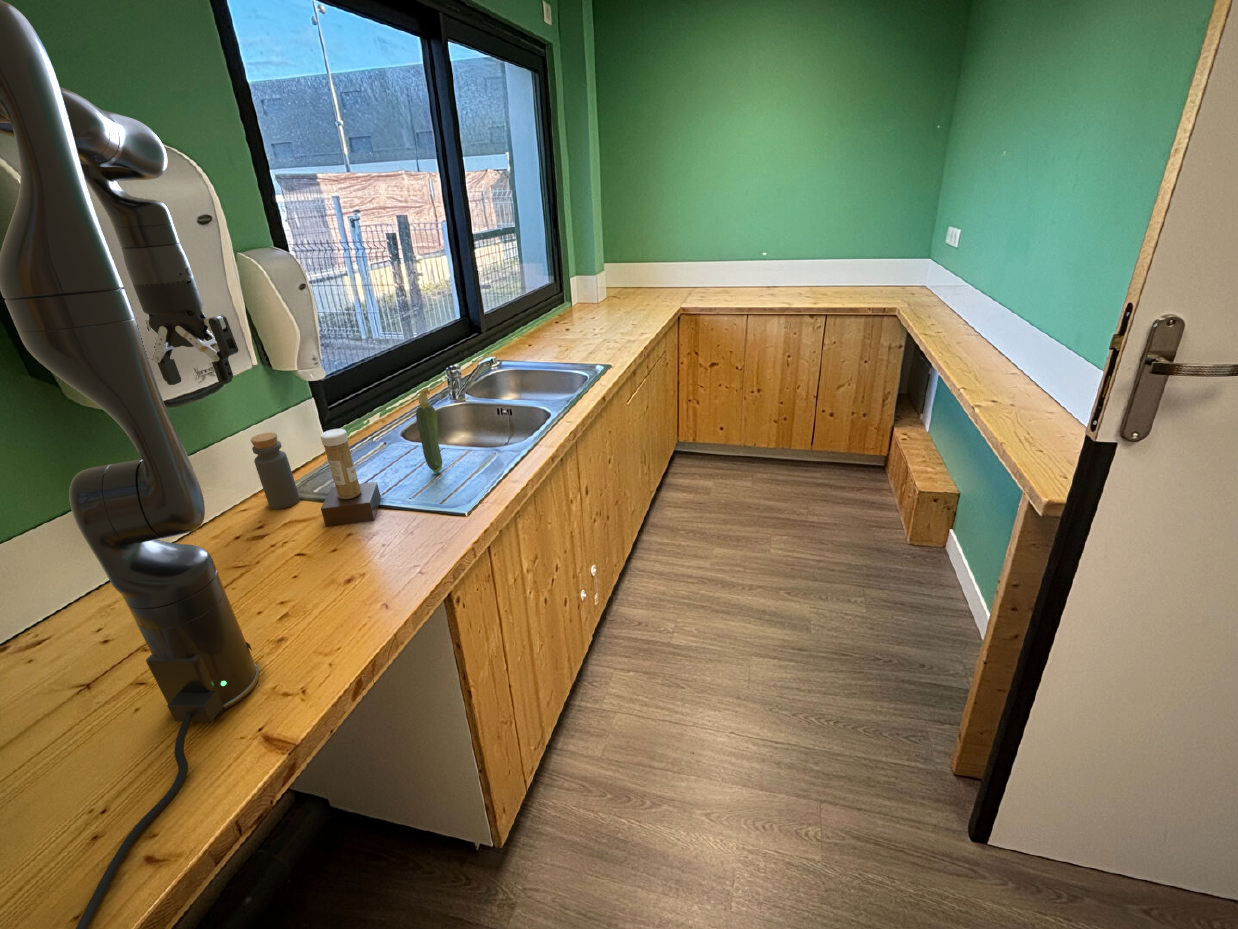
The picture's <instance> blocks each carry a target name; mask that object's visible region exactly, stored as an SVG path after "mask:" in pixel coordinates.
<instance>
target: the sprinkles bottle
mask: <svg viewBox="0 0 1238 929" xmlns="http://www.w3.org/2000/svg"><path fill="white" fill-rule="evenodd" d="M320 440H321V443H322V445H323V448H324V451H325V455H326V458H327V462H328V466H329V471H330V474H331V476H332V477H331V478H332V480H333V484H334V487H336V490H337V496H338V498H340V499H351V498H354V497H356V496H358V495H359V494H360V493H361V488H360V486H359V484H360V482H359V479H358V473H357V470H356V467H355V463H354V460H353V456H352V452H351V449H350V445H349V435H348V433H347V430H346V429H345V428H333V429H329V430H328V429H327V430H326V431H324V432H322V433H321V434H320Z"/></svg>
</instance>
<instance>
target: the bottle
mask: <svg viewBox="0 0 1238 929" xmlns="http://www.w3.org/2000/svg"><path fill="white" fill-rule="evenodd" d="M250 442H251V444H252V445H253V446H252V448H251V450H252V452H253V454H255V455H257V456H256V457H255V458H254V460H253V462H254V466H255V470H256V471H257V474H258V478H259V480H260V483H261V487H262V489H263V492H264V496H265V498H266V501H267V504H268V506H269V508H270V509H274V510H279V509H280V510H281V509H286V508H290V507H293V506H294V505H296V504H298V503H299V501H300V499H301V498H300V494H299V491H298V486H297V484H296V481H295V477H294V474H293V471H292V467H291V465H290V462H289V458H288V455H287V453H286V452H285V451H283V450H280V449H281V448H282V442H281V441H280V440H278V434H277V433H276V432H262V433H259V434H256V435H254V436H252V437H251V438H250Z"/></svg>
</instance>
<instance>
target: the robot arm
mask: <svg viewBox="0 0 1238 929" xmlns="http://www.w3.org/2000/svg"><path fill="white" fill-rule="evenodd" d="M0 134H3V135H7V136H10V137H13V138H15V139H14V140H15V143H16V147H17V148H16V149H17V154H18V161H19V166H20V168H19V169H20V181H19V191H18V196H17V200H16V204H15V207H14V211H13V213H12V217H11V219H10V222H9V224H8V228H7V230H6V233H5V236H4V239H3V242H2V245H1V249H0V293H1V296H2V298H3V299H4V303H5V305H6V308H7V309H8V312H9V315H10V317H11V320H12V322H13V324H14V326H15V328H16V331H17V334H18V336H19V338H20V340H21V342H22V344H23V345H24V347H25V348H26V351H28V352H29V353H30V355H31V356H32V357H33V358H34V359H35V360H36V361H37V362H38V363H39V364H41V365H42V366H43V367H45V369H47V370H48V371H50V372H51V373H52V374H53V375H54V376H56V377H58V378H59V379H60V380H61V381H63V382H64V383H65V384H67V385H68V386H70V387H71V388H72V389H74V391H77V392H78V393H80V394H81V395H82V396H83V397H85V398H86V399H88V400H90V401H91V402H92V403H93V404H95V405H96V406H97V407H98V408H100V409H101V410H102V411H104V412H105V413H106V414H107V415H108V416H109V417H110V418H111V419H113V420H114V422H116V423H117V424H118V426H119V427H120V428H121V429H122V430H123V431H124V433H125V434H126V435H127V437H128V438H129V440H130V441H131V443H132V444H133V446H134V447H135V449H136V451H137V452H138V455H139V457H140V459H134V460H133V459H132V460H128V461H127V460H126V461H122V462H115V463H109V464H103V465H98V466H93V467H89V468H88V467H87V468H85V469H83V470H81V471H79V472H77V474H75V475H74V476H73V478H72V480H71V483H70V485H69V488H68V489H69V490H68V500H69V505H70V510H71V514H72V516H73V519H74V522H75V523H76V525H77V527H78V529H79V531H80V533H81V535H82V536H83V539H84V540H85V542H86V544H87V545H88V547H89V549H90V550H91V551H92V553H93V555H95V558H96V559H97V561H98V563H99V565H100V566H101V567H102V570H103V571H104V573H105V575H106V576H107V578H108V580H109V582H110V584H111V585H112V587H113V588H114V590H116V591H117V592H118V593H119V594H120V595H121V596H122V598H123V600H124V602H125V604H126V606H127V608H128V609H129V611H130V613H131V616H132V617H133V620H134V621H135V624H136V625H137V628H138V629H139V631H140V633H141V636H142V638H143V639H144V641H145V644H146V646H147V648H148V650H149V651H150V655H149V656H148V657H146V660H145V662H146V664H147V666H148V668H149V670H150V672H151V674H152V676H153V678H154V680H155V682H156V684H157V686H158V688H159V690H160V692H161V694H162V695H163V698H164V699H165V701H166V703H167V705H166V706H167V708H168V710H169V712H170V714H171V716H172V718H173V720H174V722H176V723H177V722H178V723H179V722H181V724H180V727H179V730H178V731H177V736H176V739H175V742H174V752H173V753H174V759H175V761H176V764H177V768H178V770H177V774H176V776H175V779H174V782H173V784H172V785H171V787H170V788H169V790H167V792H166V793H165V794H164V796H163V797H162V798H161V799H160V800H159V801H158V802H157V803H156V804H155V805H154V806H153V807H152V808H151V809H150V810H149V811H148V812H147V813H146V814H145V815H144V816H143V817H142V818H141V819H140V820H139V821H138V822H137V824H135V826H133V828H132V829H131V831H130V832H129V833H128V834H127V836H126V837H125V839H124V840H123V842H122V843H121V845H120V846H119V847H118V849H117V851H116V852H115V854H114V856H113V857H112V859H111V861H110V863H109V865H108V866H107V867H106V870H105V871H104V873H103V874H102V876H101V878H100V880H99V881H98V884H97V886H96V888H95V890H94V891H93V893H92V896H90V899H89V901H88V903H87V905H86V907H85V909H84V911H83V913H82V915H81V917H80V919H79V921H78V923H77V926H76V927H75V929H88V928H89V927H90V924H91V922H92V920H93V918H94V916H95V914H96V912H97V909H98V908H99V906H100V904H101V901H102V900H103V898H104V896H105V893H106V892H107V889H108V888H109V885H110V884H111V882H112V880H113V878H114V876H115V874H116V873H117V871H118V868H119V867H120V865H121V863H122V862H123V860H124V858H125V857H126V855H127V853H128V852H129V851H130V848H131V847H132V846H133V844H134V842H135V841H136V840H137V838H138V837H139V836H140V834H141V833H142V832H143V831H144V830H145V829H146V827H147V826H148V825H150V823H152V821H153V820H154V819H155V818H156V817H157V816H159V814H160V813H161V812H162V811H163V810H164V809H165V808H166V807H167V806H168V805H169V804H170V802H171V801H172V800H173V799H174V797H175V796H176V795H177V794H178V792H179V791H180V789H181V787H182V785H183V783H184V782H185V780H186V778H187V773H188V771H189V764H188V763H189V762H188V760H187V757H186V755H185V741H186V738H187V734H188V731H189V728H190V725H191V723H212V722H213V721H214V719H215V718H219V717H220V716H221V715H222V714H223V713H224V711H226V710H227V709H229V708H231V707H232V706H234V705H236V704H238V703H239V702H241V701H242V700H243V699H244V698H246V697H247V696H248V695H249V694H250V693H251V692H252V690H253V689H254V688H255V687H256V685H257V683H258V682H259V679H260V670H259V668H258V666H257V664H256V662H255V661H254V657H253V656H252V654H251V651H253V649H252V647H251V644H250V643H249V642H248V641H246V638H245V636H244V634H243V632H242V628H241V626H240V624H239V621H238V619H237V616H236V614H235V612H234V609H233V607H232V604H231V603H230V599H229V597H228V595H227V592H226V590H225V587H224V584H223V582H222V579H221V576H220V574H219V573H218V572H219V571H218V570H217V567H216V564H215V562H214V560H213V558H212V556H211V554H210V552H208V551H207V550H206V549H205V548H204V547H201V546H198V545H194V544H186V543H177V542H170V541H164V540H161V539H167V538H172V537H176V536H180V535H184V534H188V533H193V532H194V531H196V530H198V529H200V527H201V526H202V525H203V523H204V520H205V517H206V516H205V515H206V505H205V500H204V499H205V498H204V495H203V491H202V487H201V484H200V481H199V479H198V476H197V474H196V472H195V469H194V466H193V465H192V462H191V459H190V458H189V456H188V453H187V451H186V449H185V447H184V444H183V443H182V442H183V441H182V440H181V438H180V436H179V433H178V431H177V429H176V426H175V425H174V422H173V420H172V418H171V416H170V414H169V413H170V412H169V411H168V408H167V406H166V405H165V402H164V399H163V397H162V394H161V392H160V389H159V386H158V384H157V381H156V380H157V379H156V377H155V375H154V371H153V368H152V366H151V363H150V360H149V358H148V357H147V354H146V351H145V348H144V345H143V341H142V338H141V335H140V332H139V328H138V325H137V322H136V319H137V318H136V316H135V313H134V311H133V307H132V304H131V302H130V299H129V296H128V293H127V291H126V289H125V285H124V282H123V280H122V277H121V275H120V273H119V271H118V268H117V265H116V263H115V261H114V258H113V255H112V252H111V250H110V248H109V245H108V242H107V239H106V237H105V235H104V232H103V229H102V226H101V223H100V220H99V218H98V215H97V211H96V209H95V206H94V204H93V200H92V198H91V194H90V191H89V188H88V186H89V187H90V189H91V190H92V192H93V193H94V195H95V196H96V198H97V199H98V201H99V202H100V205H102V207H103V210H104V211H105V213H106V214H107V216H108V218H109V220H110V223H111V225H112V227H113V231H114V232H115V235H116V238H117V239H118V243H119V245H120V247H121V248H120V249H121V252H122V256H123V261H124V265H125V268H126V270H127V273H128V275H129V278H130V282H131V283H132V286H133V288H134V291H135V293H136V296H137V300H138V301H139V305H140V307H141V310H142V312H143V313H145V314H146V315H148V319H149V320H145V321H146V324H147V329H148V331H150V330H151V328H152V329H153V332H155V334H157V337H156V343H155V346H154V348H156V349H155V352H154V355H153V359H152V360H153V362H154V363H156V364H157V365H158V369H159V371H160V374H161V377H162V378H163V380H164V381H165V382H166V384H167V385H168V386H175V385H178V384H180V383H182V377H181V374H180V371H179V369H178V367H177V364H176V361H175V359H174V358H172V357H173V355H174V352H175V349H176V348H180V347H185V348H193V347H194V348H195V349H197V350H198V351H199V352H203V353H204V354H205V355H206V356H208V358H210V359H211V361H212V362H211V364H212V367H213V369H214V373H215V376H216V378H217V381H218V384H219V385H228V384H229V383H231V382H233V379H234V373H233V369H232V367H231V363H230V361H229V357H231V356H233V355H236V354H238V353H239V352H240V351H239V347H238V344H237V342H236V339H235V337H234V334H233V331H232V328H231V326H230V324H229V321H228V318H227V316H225V315H224V314H220V315H216V316H213V317H207V316H206V315H205V313H204V312H203V300H202V297H201V295H200V292H199V289H198V286H197V282H196V279H195V276H194V274H193V271H192V268H191V265H190V262H189V260H188V257H187V254H186V253H185V251H184V249H183V247H182V244H181V241H180V238H179V237H178V232H177V230H176V227H175V224H174V221H173V218H172V215H171V213H170V210H169V208H168V206H167V205H166V204H165V203H163V202H162V201H159V200H156V199H151V198H143V197H137V196H133V195H130V194H128V193H127V192H126V191H125V190H124V189H123V188H122V187H121V186H120V184H119V183H118V182H122V181H123V182H124V181H150V180H155V179H158V178H160V177H161V176H162V175H164V173H165V172H166V170H167V167H168V155H167V151H166V148H165V147H164V146H165V145H164V144H163V142H162V141H161V139H160V138H159V137H158V135H157V134H156V133H155V132H154V131H153V130H152V129H151V127H149V126H147V125H146V124H145V123H143V122H142V121H139V120H138V119H135V118H134V117H133V118H132V117H129V116H126V115H123V114H119V113H116V112H113V111H109V110H104V109H101V108H100V107H98V106H97V105H95V104H94V103H93V102H91V101H89V100H88V99H87V98H85V97H83V96H81V95H80V94H78V93H76V92H74V91H71V90H69V89H67V88H64V87H62V86H60V84H59V80H58V78H57V75H56V72H55V68H54V66H53V64H52V62H51V59H50V57H49V55H48V52H47V50H46V48H45V45H44V44H43V42H42V40H41V38H40V36H39V34H38V33H37V31H36V30H35V28H34V27H33V25H32V24H31V22H30V21H29V20H28V18H26V16H25V15H24V14H23V13H22V12H21V11H20V10H19V9H17V8H16V7H15V6H14V5H12V4H10V3H8V2H6V1H3V0H0ZM204 340H205V341H204Z"/></svg>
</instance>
